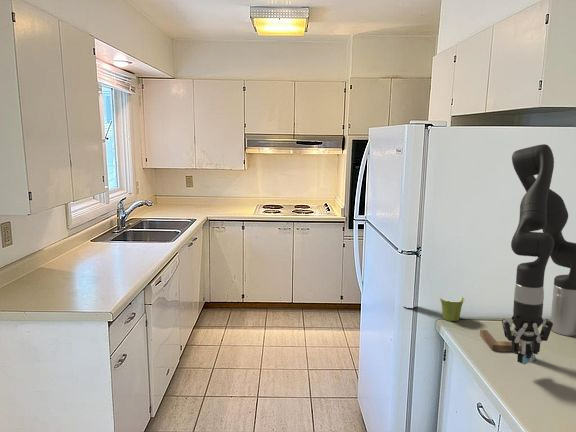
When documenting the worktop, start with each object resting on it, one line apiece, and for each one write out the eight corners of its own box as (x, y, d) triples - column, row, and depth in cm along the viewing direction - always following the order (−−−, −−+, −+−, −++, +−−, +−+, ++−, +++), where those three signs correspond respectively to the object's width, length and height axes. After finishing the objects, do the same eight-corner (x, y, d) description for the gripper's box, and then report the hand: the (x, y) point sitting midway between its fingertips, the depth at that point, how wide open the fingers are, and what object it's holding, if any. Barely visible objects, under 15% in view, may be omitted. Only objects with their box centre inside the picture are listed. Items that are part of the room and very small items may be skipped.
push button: (524, 353, 134) (526, 323, 133) (542, 361, 130) (544, 329, 128) (511, 360, 131) (513, 329, 129) (529, 367, 126) (531, 335, 125)
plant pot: (434, 318, 173) (435, 298, 172) (444, 312, 180) (445, 292, 178) (457, 325, 167) (458, 303, 165) (467, 318, 173) (468, 297, 172)
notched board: (513, 335, 157) (514, 330, 157) (529, 351, 145) (529, 345, 145) (479, 335, 158) (479, 329, 158) (492, 350, 146) (492, 345, 146)
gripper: (547, 294, 130) (543, 347, 133) (498, 294, 131) (495, 347, 134) (561, 303, 123) (556, 359, 126) (508, 303, 124) (505, 359, 127)
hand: (525, 352), depth 130 cm, fingers closed on push button, 5 cm apart
